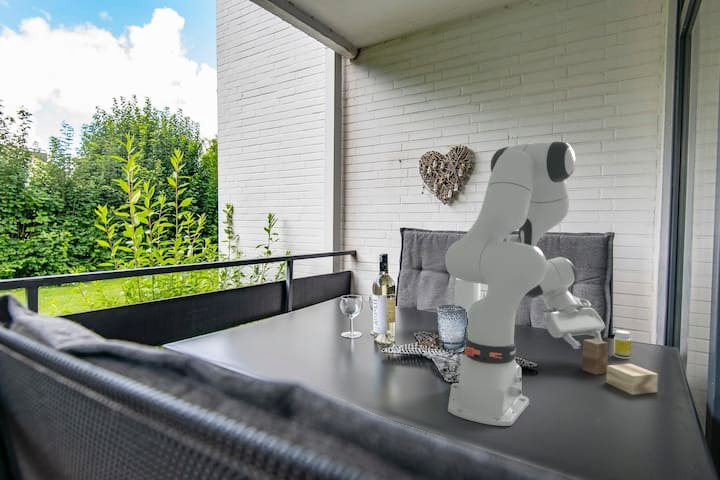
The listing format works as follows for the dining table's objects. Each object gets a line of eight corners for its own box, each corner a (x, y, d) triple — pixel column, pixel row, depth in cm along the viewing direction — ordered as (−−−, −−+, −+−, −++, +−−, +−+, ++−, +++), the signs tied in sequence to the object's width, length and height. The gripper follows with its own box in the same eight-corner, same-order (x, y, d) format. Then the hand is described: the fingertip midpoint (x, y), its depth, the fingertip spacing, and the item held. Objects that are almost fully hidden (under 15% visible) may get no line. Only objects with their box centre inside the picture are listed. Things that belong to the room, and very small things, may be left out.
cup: (483, 331, 161) (484, 278, 160) (475, 337, 152) (477, 281, 152) (458, 327, 167) (459, 276, 166) (449, 333, 158) (450, 279, 157)
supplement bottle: (632, 359, 130) (633, 334, 129) (616, 358, 130) (617, 333, 130) (626, 355, 134) (627, 330, 134) (610, 353, 135) (611, 329, 135)
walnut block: (595, 374, 116) (597, 344, 115) (582, 369, 120) (583, 339, 120) (606, 372, 117) (608, 342, 117) (593, 367, 122) (594, 338, 121)
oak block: (632, 395, 102) (633, 376, 102) (606, 383, 110) (607, 365, 110) (657, 392, 104) (657, 373, 104) (629, 381, 112) (630, 363, 112)
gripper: (544, 304, 123) (570, 344, 114) (592, 300, 130) (620, 338, 122) (533, 315, 127) (557, 355, 119) (580, 311, 135) (606, 348, 126)
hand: (589, 346), depth 120 cm, fingers open, 8 cm apart
